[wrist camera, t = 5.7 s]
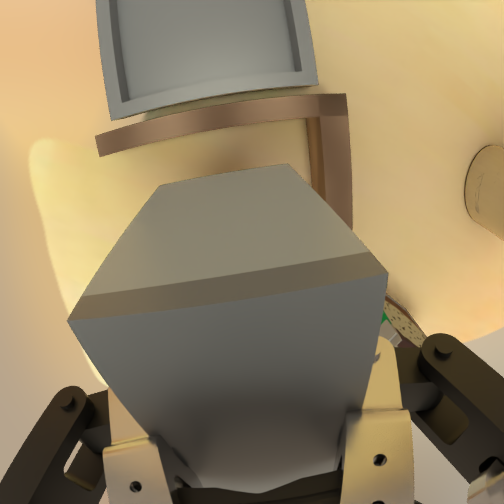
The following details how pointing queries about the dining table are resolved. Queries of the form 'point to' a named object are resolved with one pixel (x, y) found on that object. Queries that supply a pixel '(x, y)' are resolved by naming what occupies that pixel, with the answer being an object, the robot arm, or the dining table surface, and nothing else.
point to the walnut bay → (263, 110)
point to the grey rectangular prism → (237, 325)
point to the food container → (400, 326)
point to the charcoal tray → (200, 50)
